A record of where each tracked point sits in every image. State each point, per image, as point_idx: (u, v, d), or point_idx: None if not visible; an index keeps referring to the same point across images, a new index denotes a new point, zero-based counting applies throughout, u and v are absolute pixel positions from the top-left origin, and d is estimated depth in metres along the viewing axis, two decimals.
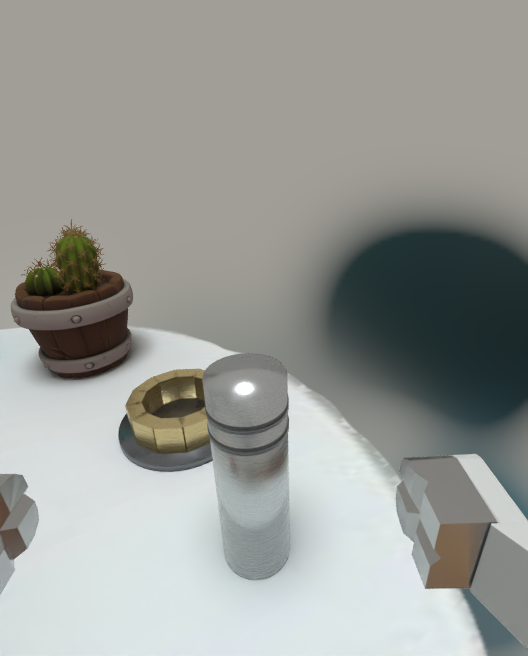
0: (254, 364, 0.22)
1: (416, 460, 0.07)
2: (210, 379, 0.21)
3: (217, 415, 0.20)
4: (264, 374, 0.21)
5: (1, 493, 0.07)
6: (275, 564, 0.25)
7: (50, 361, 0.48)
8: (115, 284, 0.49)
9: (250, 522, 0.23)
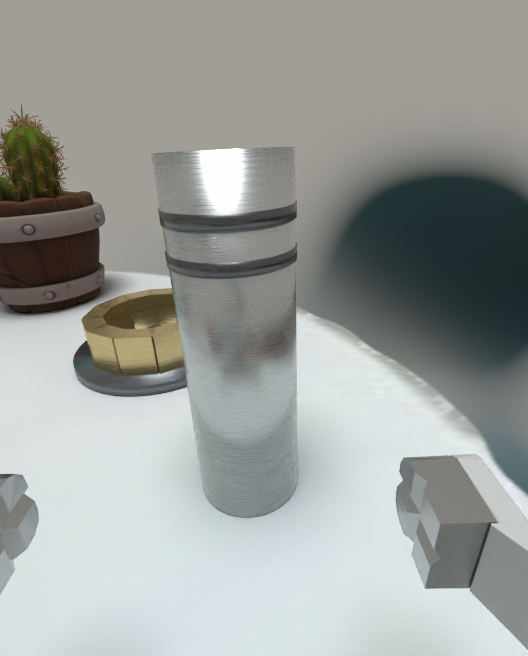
0: None
1: (416, 460, 0.07)
2: None
3: (174, 200, 0.12)
4: None
5: (1, 493, 0.07)
6: (277, 493, 0.17)
7: (1, 289, 0.39)
8: (81, 198, 0.40)
9: (237, 413, 0.14)
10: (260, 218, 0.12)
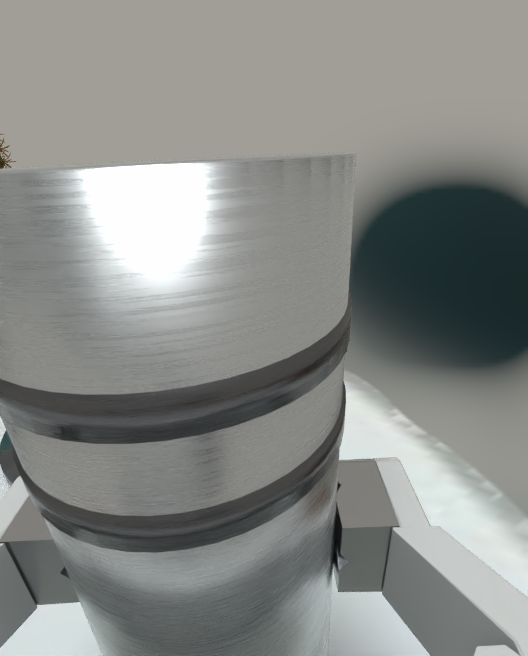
0: (207, 158, 0.06)
1: None
2: None
3: None
4: None
5: None
6: None
7: None
8: None
9: None
10: (254, 392, 0.04)
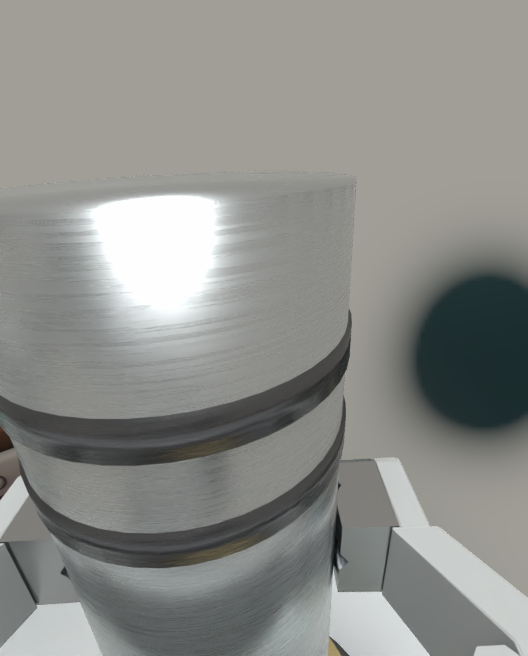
0: (210, 176, 0.06)
1: None
2: None
3: None
4: (246, 180, 0.05)
5: None
6: None
7: None
8: None
9: None
10: (257, 414, 0.04)
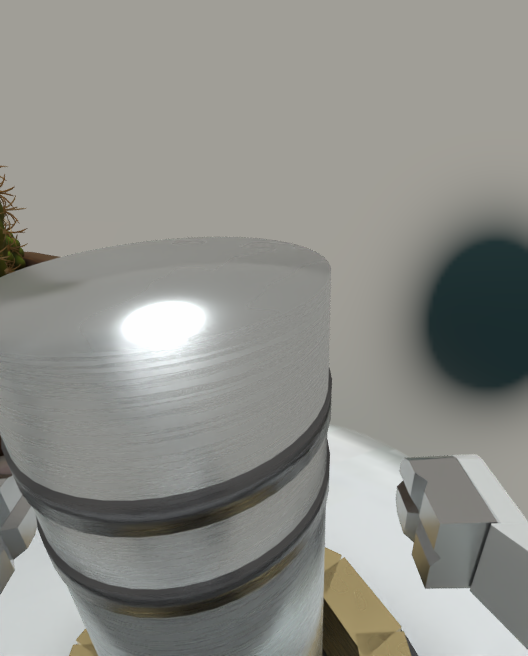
0: (205, 252, 0.06)
1: (416, 460, 0.07)
2: (10, 287, 0.05)
3: (8, 441, 0.04)
4: (235, 268, 0.05)
5: (1, 493, 0.07)
6: None
7: None
8: None
9: None
10: (244, 490, 0.04)
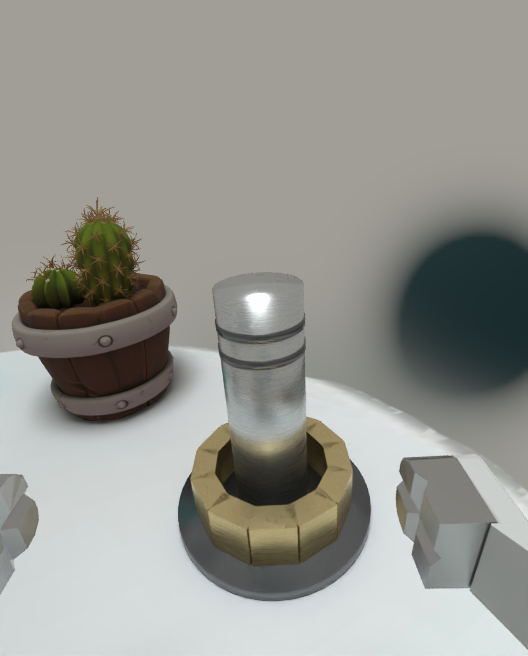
0: (267, 279, 0.21)
1: (416, 460, 0.07)
2: (221, 289, 0.19)
3: (229, 324, 0.19)
4: (278, 284, 0.20)
5: (1, 493, 0.07)
6: None
7: (67, 400, 0.34)
8: (156, 290, 0.35)
9: (266, 452, 0.21)
10: (282, 334, 0.19)
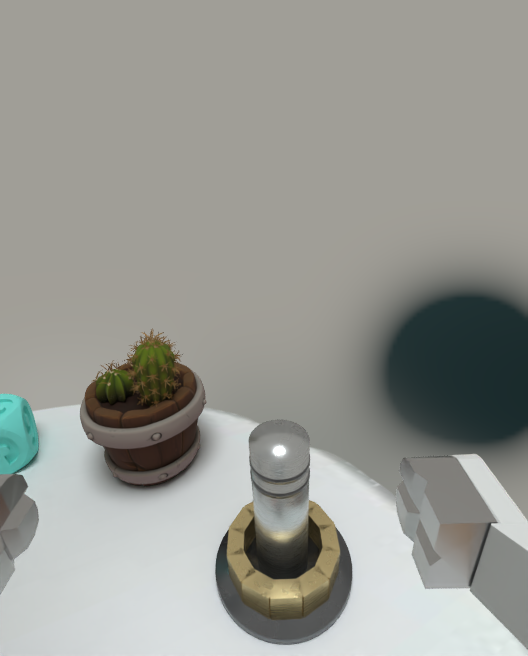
0: (284, 430, 0.31)
1: (416, 460, 0.07)
2: (254, 443, 0.29)
3: (261, 470, 0.29)
4: (292, 439, 0.30)
5: (1, 493, 0.07)
6: (298, 574, 0.34)
7: (121, 472, 0.44)
8: (190, 386, 0.45)
9: (281, 544, 0.31)
10: (295, 478, 0.29)
